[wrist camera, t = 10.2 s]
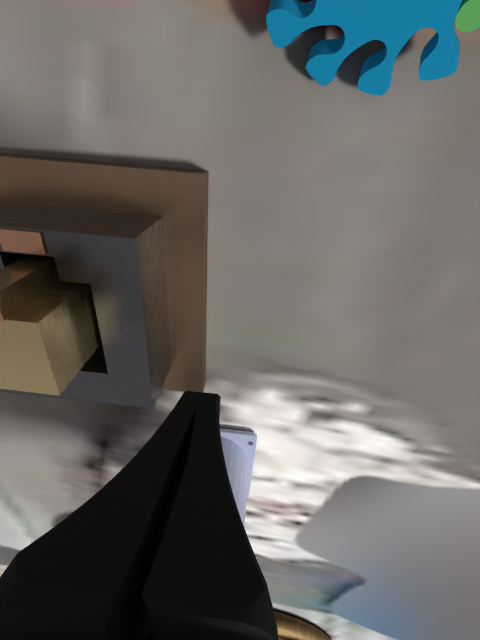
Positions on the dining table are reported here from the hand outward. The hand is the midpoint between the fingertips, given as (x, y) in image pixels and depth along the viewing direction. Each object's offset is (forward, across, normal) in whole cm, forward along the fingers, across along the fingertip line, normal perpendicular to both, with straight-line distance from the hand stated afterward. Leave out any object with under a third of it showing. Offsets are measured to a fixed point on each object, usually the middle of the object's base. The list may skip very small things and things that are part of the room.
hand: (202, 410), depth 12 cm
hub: (+9, +9, 0) cm, 13 cm away
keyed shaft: (+8, +9, 0) cm, 12 cm away
